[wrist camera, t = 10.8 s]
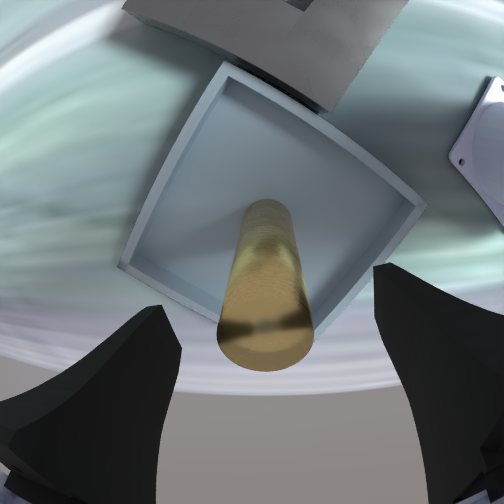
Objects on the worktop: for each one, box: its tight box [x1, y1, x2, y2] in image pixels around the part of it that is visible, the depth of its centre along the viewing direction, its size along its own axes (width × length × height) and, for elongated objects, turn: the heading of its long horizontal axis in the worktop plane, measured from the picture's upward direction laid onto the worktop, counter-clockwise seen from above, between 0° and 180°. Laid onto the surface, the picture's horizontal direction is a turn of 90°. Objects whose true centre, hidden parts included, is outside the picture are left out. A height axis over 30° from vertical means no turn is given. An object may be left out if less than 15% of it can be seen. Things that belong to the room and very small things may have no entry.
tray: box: [117, 61, 428, 343], centre depth 17 cm, size 13×13×2 cm
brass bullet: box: [217, 199, 314, 372], centre depth 13 cm, size 3×3×10 cm
